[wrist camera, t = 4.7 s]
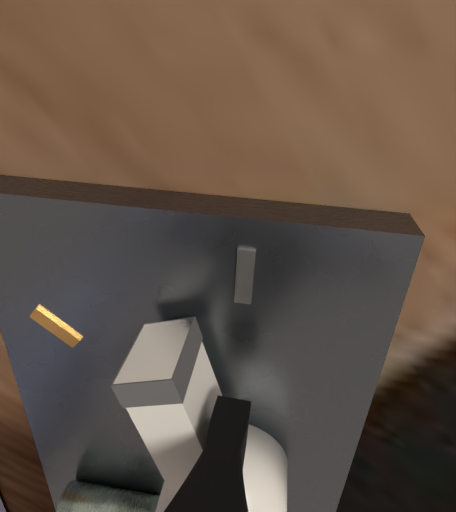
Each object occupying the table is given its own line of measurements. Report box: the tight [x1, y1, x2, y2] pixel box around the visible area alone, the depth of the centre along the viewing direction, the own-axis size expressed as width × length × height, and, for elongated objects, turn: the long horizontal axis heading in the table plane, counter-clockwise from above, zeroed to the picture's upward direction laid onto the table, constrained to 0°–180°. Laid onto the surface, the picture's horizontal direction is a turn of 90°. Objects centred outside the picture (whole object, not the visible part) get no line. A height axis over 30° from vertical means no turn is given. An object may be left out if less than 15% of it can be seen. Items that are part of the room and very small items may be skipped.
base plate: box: [0, 175, 425, 512], centre depth 15 cm, size 17×13×3 cm
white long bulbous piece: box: [111, 317, 288, 512], centre depth 13 cm, size 9×4×3 cm, turn 15°
